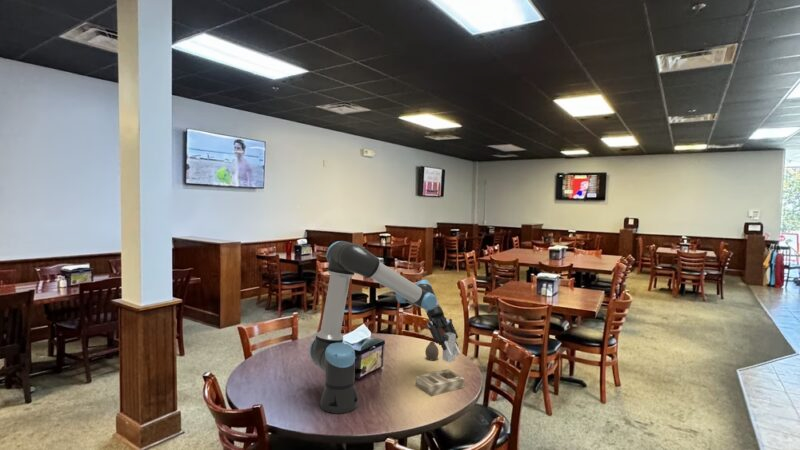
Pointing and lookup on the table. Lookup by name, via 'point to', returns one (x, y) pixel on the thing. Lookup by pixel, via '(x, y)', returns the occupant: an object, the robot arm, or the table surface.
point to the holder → (439, 382)
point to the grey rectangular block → (449, 345)
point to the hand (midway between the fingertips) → (454, 355)
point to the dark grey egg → (431, 351)
